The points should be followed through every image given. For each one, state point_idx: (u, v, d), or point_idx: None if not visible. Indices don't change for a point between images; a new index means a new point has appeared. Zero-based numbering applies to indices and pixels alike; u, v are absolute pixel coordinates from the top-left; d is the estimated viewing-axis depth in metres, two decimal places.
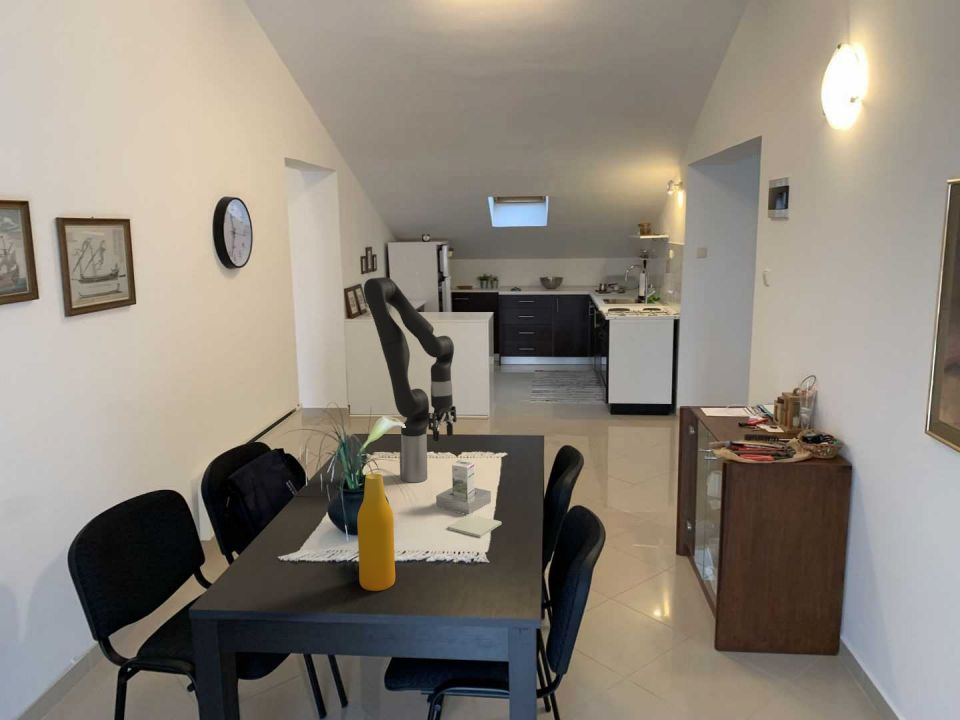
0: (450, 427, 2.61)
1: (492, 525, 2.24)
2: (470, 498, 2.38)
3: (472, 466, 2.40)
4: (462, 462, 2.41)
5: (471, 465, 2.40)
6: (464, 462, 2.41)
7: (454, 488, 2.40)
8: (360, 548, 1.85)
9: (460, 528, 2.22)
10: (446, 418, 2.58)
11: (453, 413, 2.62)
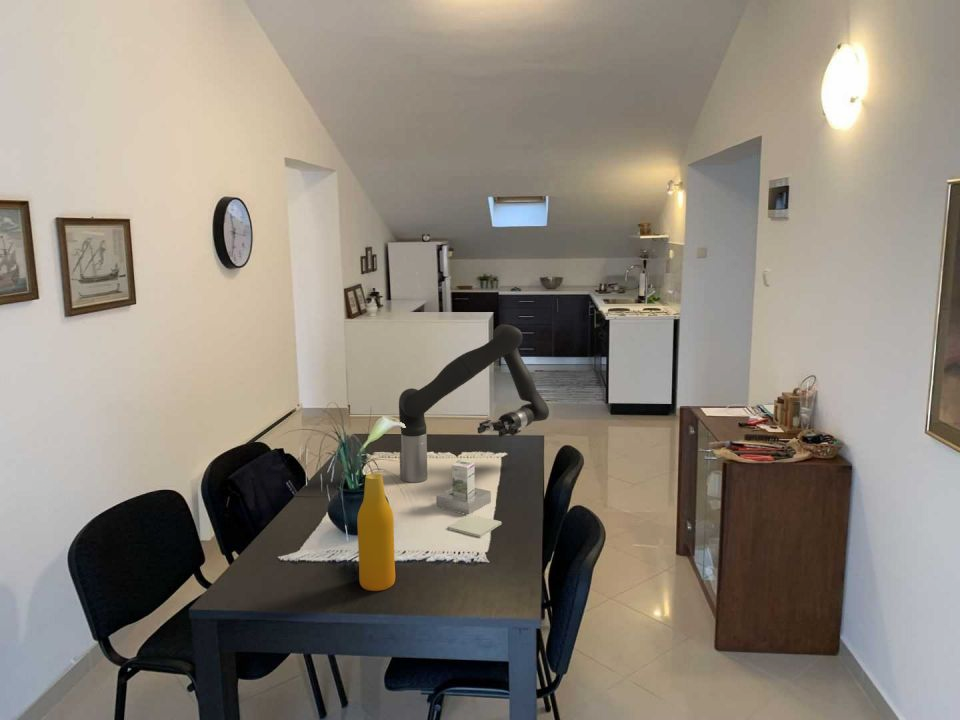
0: (484, 430, 2.57)
1: (492, 525, 2.24)
2: (470, 498, 2.38)
3: (472, 466, 2.40)
4: (462, 462, 2.41)
5: (471, 465, 2.40)
6: (464, 462, 2.41)
7: (454, 488, 2.40)
8: (360, 548, 1.85)
9: (460, 528, 2.22)
10: None
11: (487, 427, 2.62)
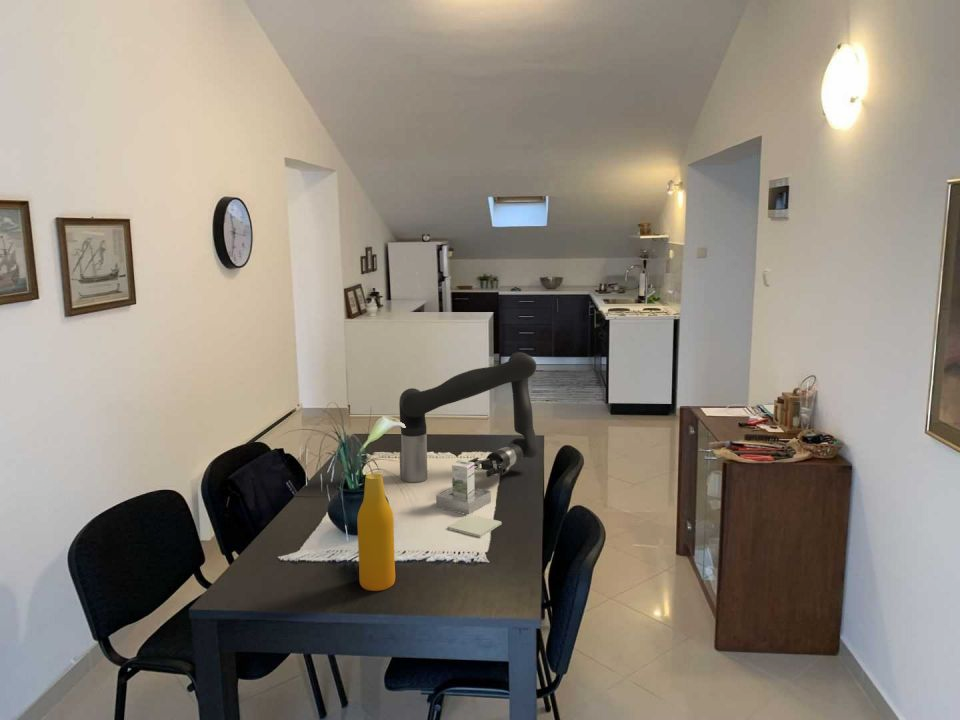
0: None
1: (492, 525, 2.24)
2: (470, 498, 2.38)
3: (472, 466, 2.40)
4: (462, 462, 2.41)
5: (471, 465, 2.40)
6: (464, 462, 2.41)
7: (454, 488, 2.40)
8: (360, 548, 1.85)
9: (460, 528, 2.22)
10: None
11: (475, 465, 2.58)
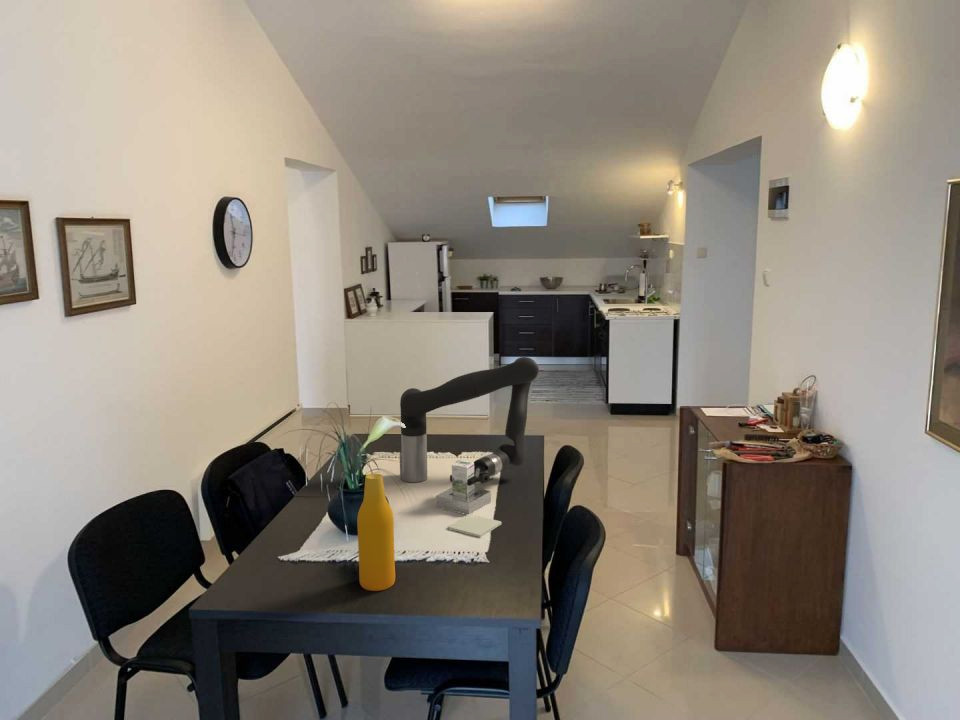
0: None
1: (492, 525, 2.24)
2: (470, 498, 2.38)
3: (472, 466, 2.40)
4: (462, 462, 2.41)
5: (471, 465, 2.40)
6: (464, 462, 2.41)
7: (454, 488, 2.40)
8: (360, 548, 1.85)
9: (460, 528, 2.22)
10: None
11: None
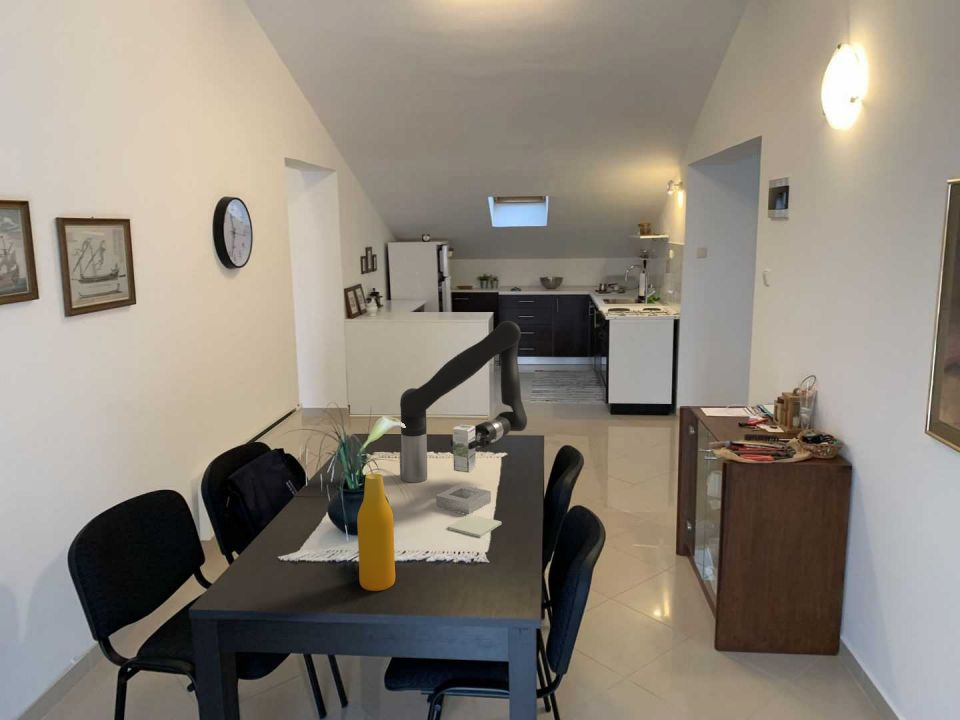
0: None
1: (492, 525, 2.24)
2: (470, 498, 2.38)
3: (473, 430, 2.37)
4: (463, 426, 2.38)
5: (472, 428, 2.36)
6: (465, 426, 2.38)
7: (455, 452, 2.37)
8: (360, 548, 1.85)
9: (460, 528, 2.22)
10: None
11: None
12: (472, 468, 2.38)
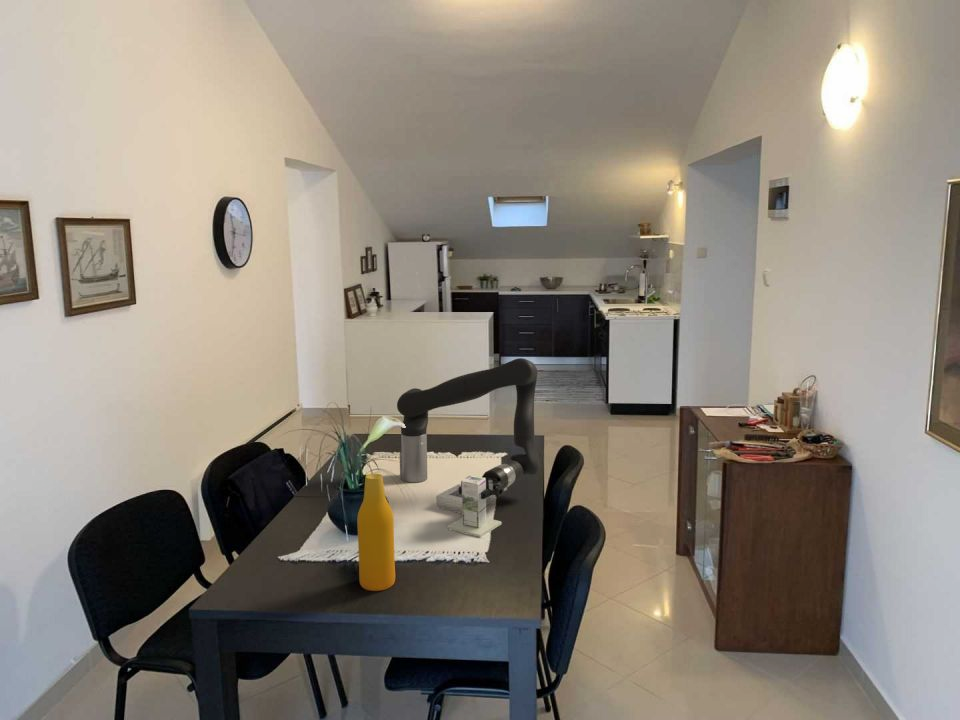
0: None
1: (492, 525, 2.24)
2: None
3: (483, 482, 2.22)
4: (472, 478, 2.23)
5: (482, 481, 2.22)
6: (475, 478, 2.23)
7: (464, 506, 2.22)
8: (360, 548, 1.85)
9: (460, 528, 2.22)
10: None
11: None
12: (482, 522, 2.24)
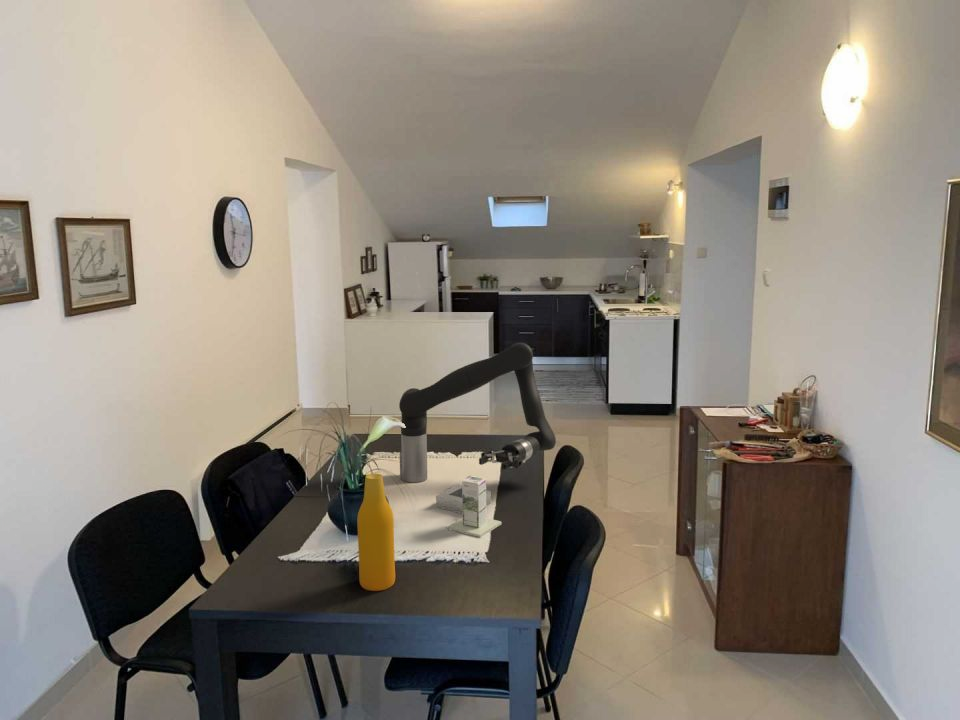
0: (486, 461, 2.39)
1: (492, 525, 2.24)
2: None
3: (484, 482, 2.23)
4: (473, 478, 2.24)
5: (483, 481, 2.22)
6: (475, 478, 2.24)
7: (464, 506, 2.23)
8: (360, 548, 1.85)
9: (460, 528, 2.22)
10: None
11: (489, 457, 2.44)
12: (482, 523, 2.24)
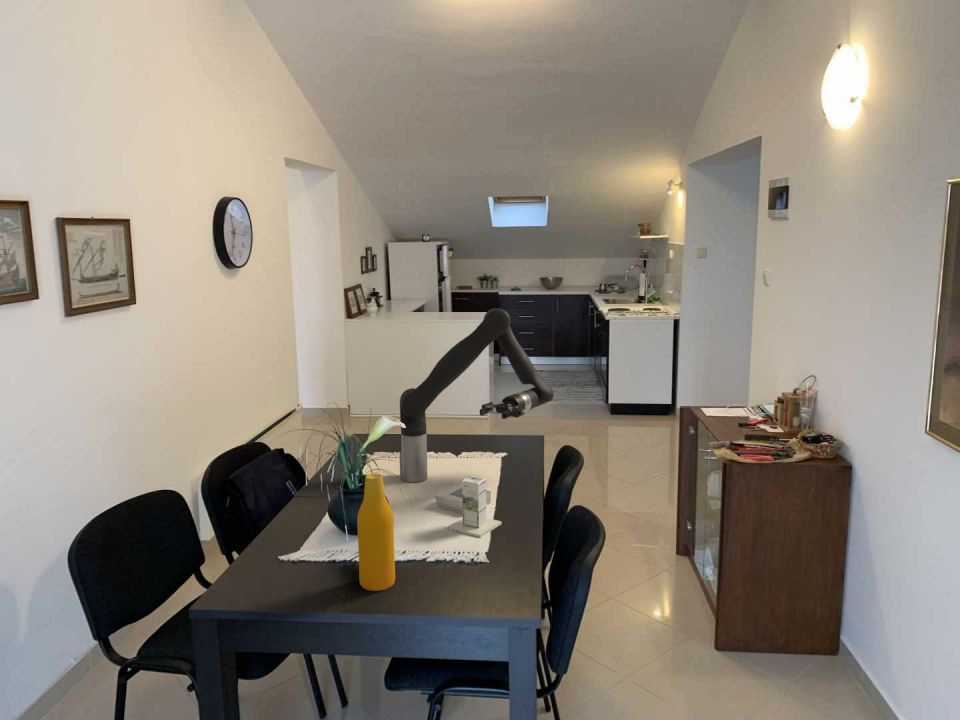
0: (486, 412, 2.46)
1: (492, 525, 2.24)
2: None
3: (484, 482, 2.23)
4: (473, 478, 2.24)
5: (483, 481, 2.22)
6: (475, 478, 2.24)
7: (464, 506, 2.23)
8: (360, 548, 1.85)
9: (460, 528, 2.22)
10: None
11: (489, 409, 2.51)
12: (482, 523, 2.24)
